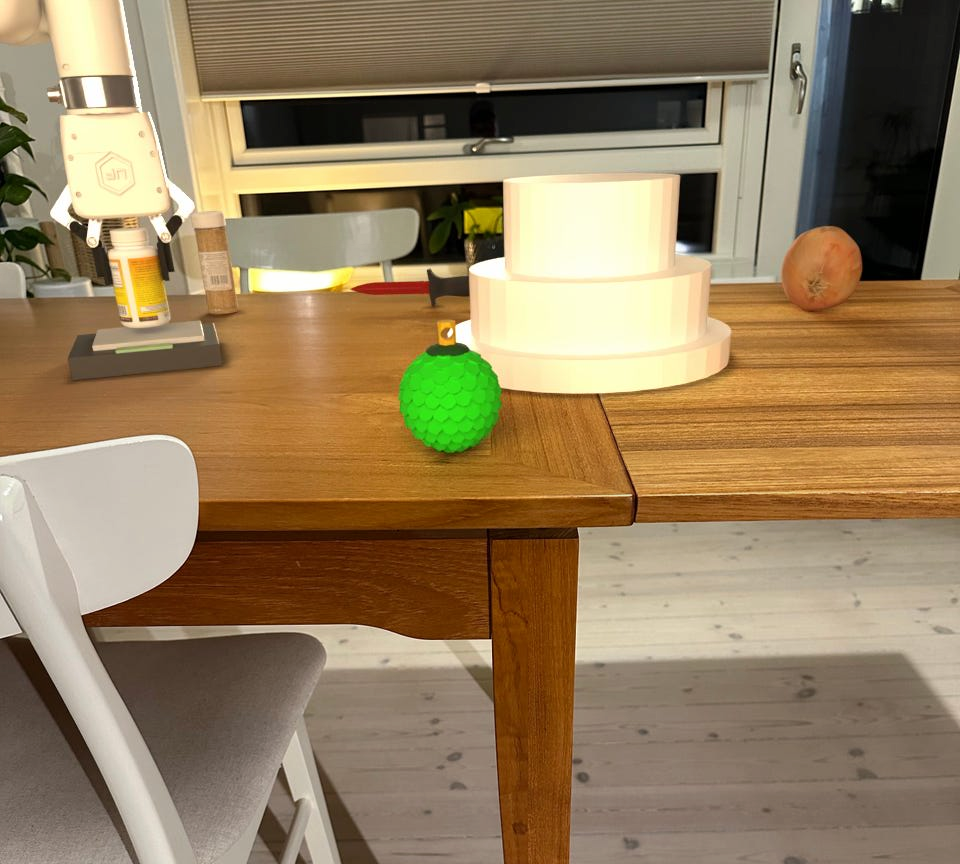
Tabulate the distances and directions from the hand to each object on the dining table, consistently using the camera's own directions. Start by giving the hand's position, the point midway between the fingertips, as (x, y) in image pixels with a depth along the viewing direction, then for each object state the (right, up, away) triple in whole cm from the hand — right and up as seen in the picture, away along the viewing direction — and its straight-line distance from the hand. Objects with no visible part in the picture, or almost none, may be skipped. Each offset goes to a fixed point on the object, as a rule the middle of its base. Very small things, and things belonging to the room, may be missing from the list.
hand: (137, 280), depth 108 cm
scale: (0, -8, +3) cm, 9 cm away
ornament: (+37, -26, -32) cm, 55 cm away
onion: (+82, +1, +15) cm, 84 cm away
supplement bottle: (0, -5, +2) cm, 5 cm away
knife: (+32, +7, +29) cm, 44 cm away
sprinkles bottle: (+1, +7, +31) cm, 32 cm away
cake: (+51, -11, -5) cm, 52 cm away
